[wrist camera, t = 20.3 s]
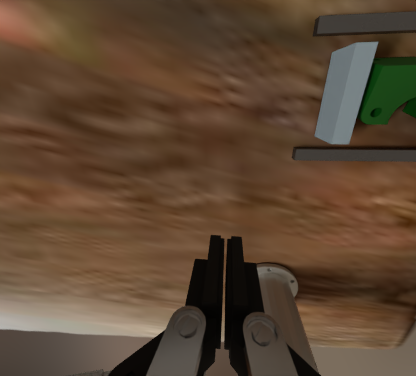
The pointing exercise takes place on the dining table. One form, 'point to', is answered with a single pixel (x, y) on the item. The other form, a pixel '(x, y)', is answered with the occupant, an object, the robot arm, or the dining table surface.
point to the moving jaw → (344, 91)
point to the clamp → (388, 89)
